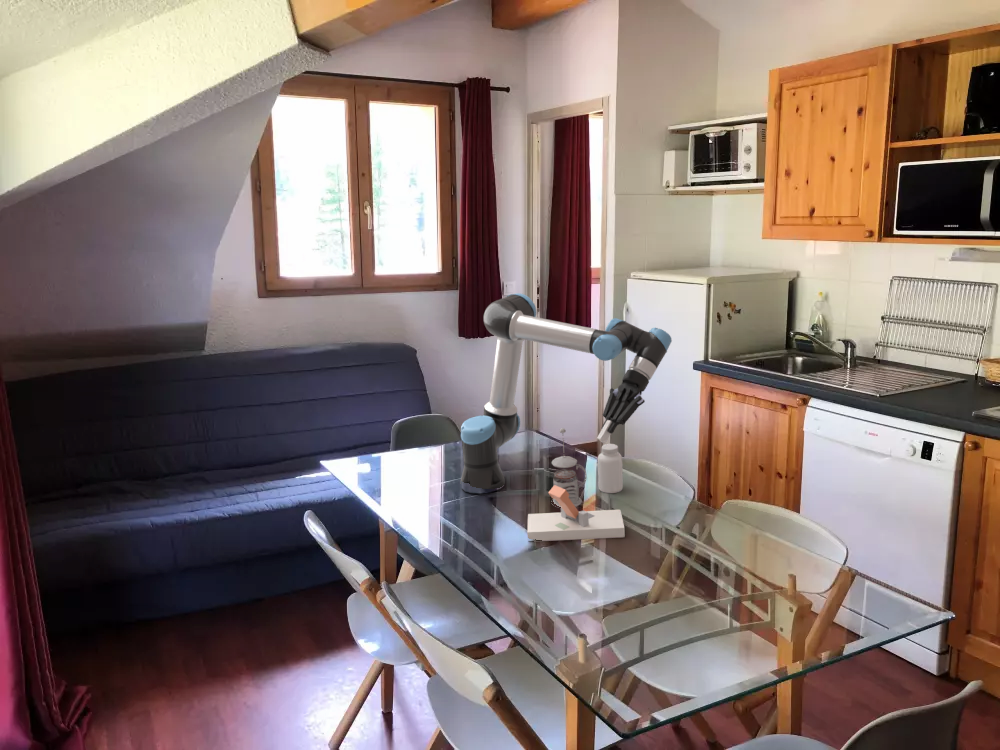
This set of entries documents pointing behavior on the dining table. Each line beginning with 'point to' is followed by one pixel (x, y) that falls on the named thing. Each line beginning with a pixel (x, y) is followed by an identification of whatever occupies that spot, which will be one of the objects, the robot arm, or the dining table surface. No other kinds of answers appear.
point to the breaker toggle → (564, 502)
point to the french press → (567, 476)
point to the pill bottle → (610, 469)
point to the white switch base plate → (576, 525)
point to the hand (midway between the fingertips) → (601, 440)
